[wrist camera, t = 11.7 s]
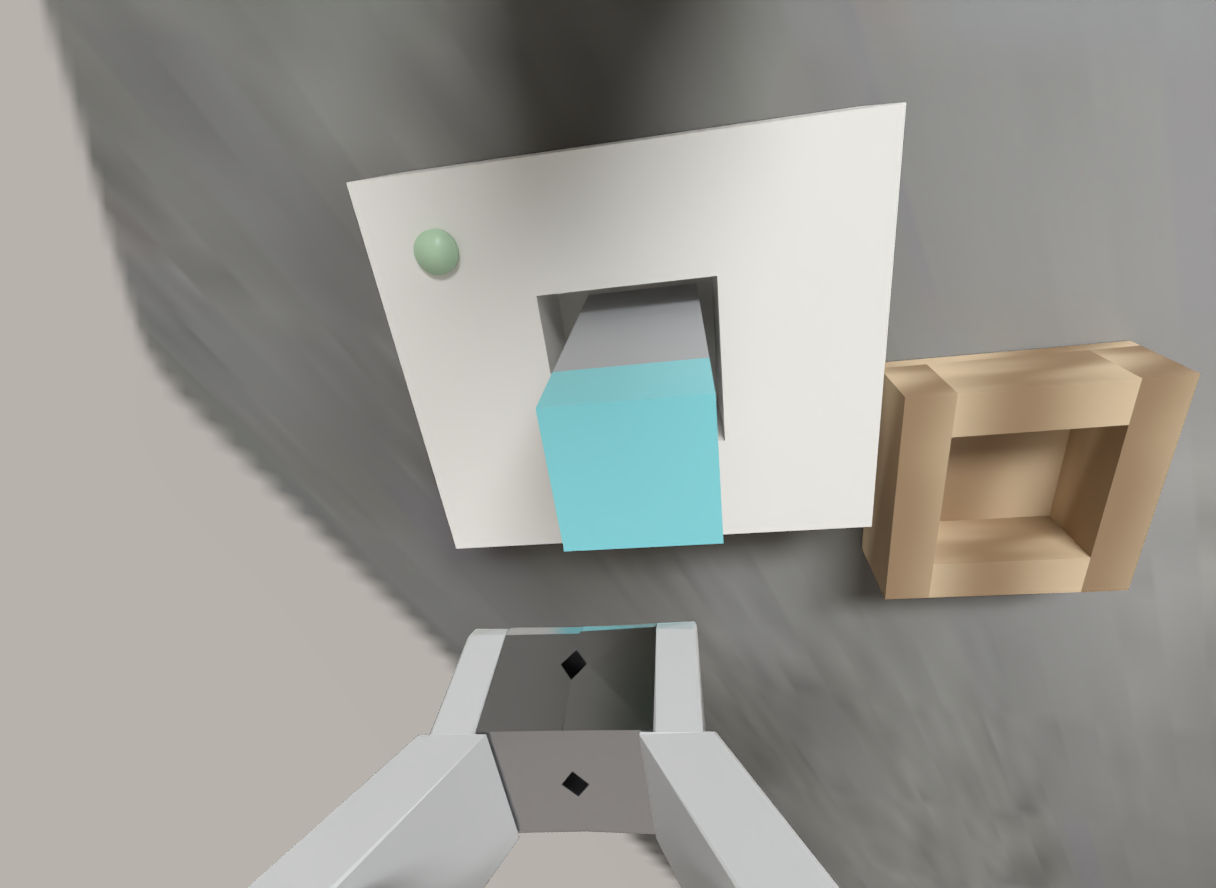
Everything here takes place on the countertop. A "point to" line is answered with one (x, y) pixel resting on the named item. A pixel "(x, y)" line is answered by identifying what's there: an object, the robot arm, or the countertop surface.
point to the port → (639, 259)
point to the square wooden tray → (1022, 469)
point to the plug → (634, 424)
